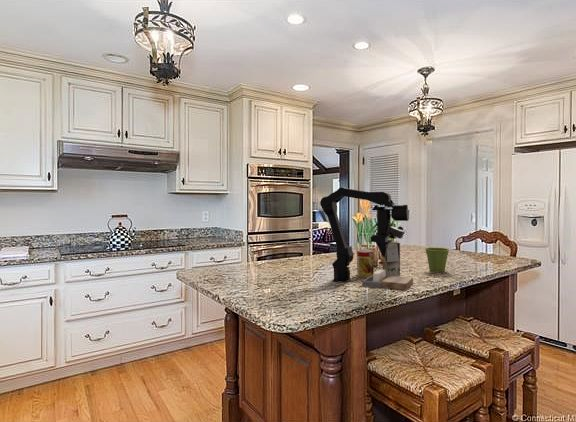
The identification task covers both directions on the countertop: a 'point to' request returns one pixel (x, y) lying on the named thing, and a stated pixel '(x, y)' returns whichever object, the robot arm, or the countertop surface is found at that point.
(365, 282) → the box
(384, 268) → the coffee box
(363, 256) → the canned food
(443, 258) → the plant pot
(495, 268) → the countertop surface
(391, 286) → the plate
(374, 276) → the cream tile
